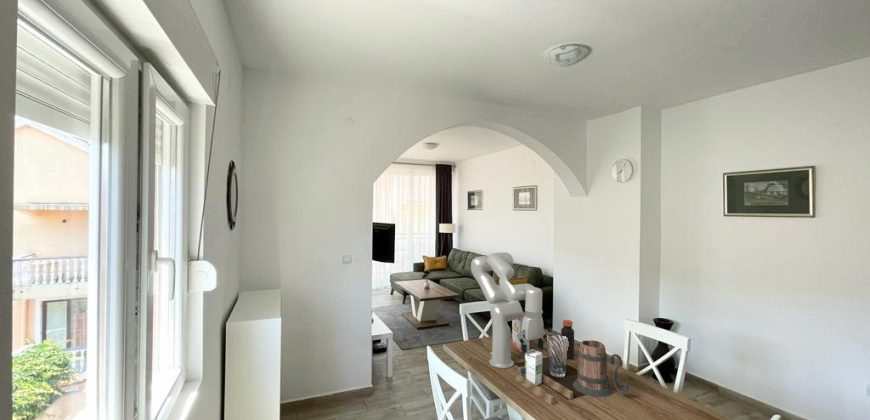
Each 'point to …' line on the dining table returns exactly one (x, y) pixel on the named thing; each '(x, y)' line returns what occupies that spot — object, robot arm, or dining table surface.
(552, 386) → the channel
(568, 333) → the bottle
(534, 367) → the syrup box
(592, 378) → the tankard
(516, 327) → the cracker box
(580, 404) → the dining table surface
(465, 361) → the dining table surface
